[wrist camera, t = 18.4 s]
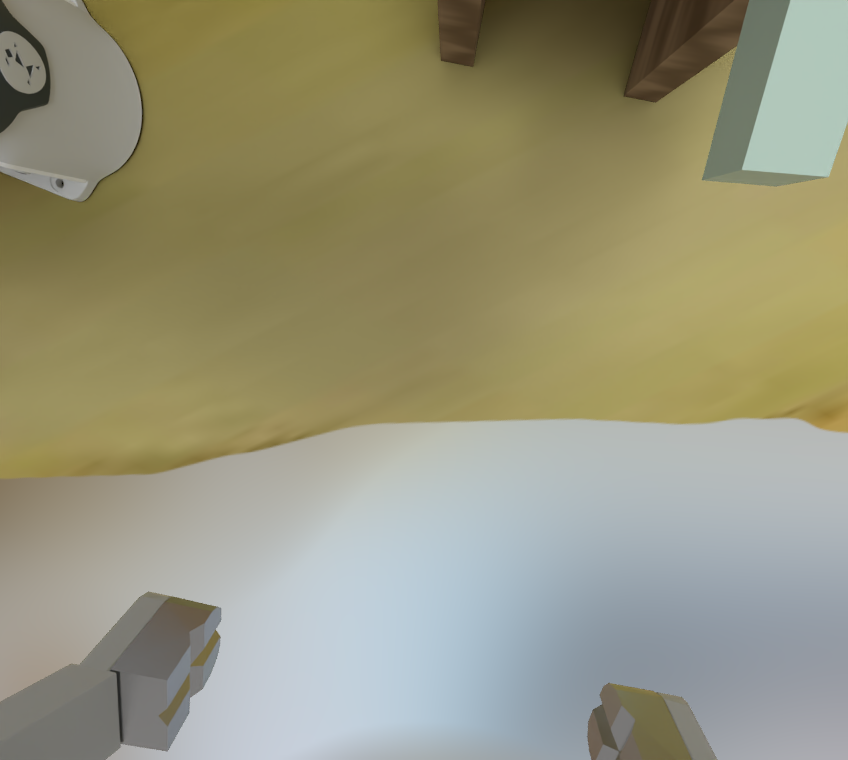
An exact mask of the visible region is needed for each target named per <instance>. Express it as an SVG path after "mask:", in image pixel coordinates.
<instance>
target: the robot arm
mask: <svg viewBox="0 0 848 760" xmlns="http://www.w3.org/2000/svg"><path fill="white" fill-rule="evenodd" d="M141 122H142V106H141V98H140V92H139V88H138V84H137V81H136V78H135V75H134V73H133V70H132V68H131V66H130V64H129V62H128V60H127V58H126V57H125V55H124V53H123V52H122V50H121V49H120V47H119V46H118V45H117V43H116V42H115V41H114V40H113V39H112V38H111V36H110V35H109V34H108V33H107V32H106V31H105V30H104V29H102V28H101V27H100V26H99V25H98V24H97V23H96V22H95V21H94V19H93V18H92V17H91V16H90V15H89V13H88V11H87V9H86V7H85V5H84V3H83V1H82V0H0V172H2V173H5V174H7V175H10V176H12V177H15V178H17V179H20V180H22V181H25V182H27V183H30V184H32V185H35V186H37V187H40V188H42V189H45V190H47V191H49V192H52V193H54V194H57V195H59V196H62V197H64V198H67V199H70V200H74V201H78V202H82V201H84V200H86V199H87V198H88V197H89V196H90V194H91V193H92V191H93V190H94V188H95V186H96V185H97V183H98V182H99V181H100V180H101V179H102V178H104V177H106V176H108V175H109V174H111V173H113V172H115V171H116V170H118V169H119V168H120V167H121V166H122V165H123V164H124V163H125V162H126V161H127V160H128V158H129V157H130V156H131V154H132V152H133V150H134V148H135V146H136V144H137V141H138V138H139V134H140V130H141ZM62 181H63V182H64V187H63V186H62ZM220 621H221V608H219V607H216V606H211V605H207V604H203V603H198V602H194V601H190V600H185V599H181V598H177V597H172V596H167V595H162V594H157V593H152V592H147V593H145V594H144V595H142V596H141V597H139V598H138V600H136V602H135V603H134V604H133V605H132V606H131V607H130V608H129V610H128V611H127V612H126V613H125V614H124V615H123V616H122V617H121V618H120V620H119V621H118V622H117V623H116V624H115V625H114V626H113V627H112V629H111V630H110V631H109V632H108V633H107V634H106V635H105V637H104V638H103V639H102V640H101V641H100V642H99V643H98V644H97V645H96V647H95V648H94V649H93V650H92V651H91V652H90V653H89V654H88V656H87V657H86V658H85V659H84V660H83V661H82V662H81V663H80V665H77V664H70V665H68V666H66V667H64V668H62V669H60V670H59V671H57V672H55V673H53V674H51V675H49V676H48V677H45V678H44V679H42V680H40V681H38V682H36V683H34V684H32V685H31V686H29V687H27V688H25V689H23V690H21V691H19V692H18V693H16V694H14V695H12V696H10V697H8V698H6V699H5V700H3V701H1V702H0V760H106V759H107V758H108V757H109V756H111V755H112V754H113V753H114V752H115V751H117V750H118V749H119V748H120V744H125V745H131V746H137V747H144V748H150V749H156V750H162V751H168V750H169V748H170V746H171V744H172V742H173V741H174V739H175V737H176V735H177V734H178V732H179V730H180V728H181V727H182V725H183V723H184V721H185V720H186V718H187V716H188V714H189V706H190V697H192V696H193V695H195V694H196V693H198V692H199V691H200V690H202V689H203V687H204V685H205V683H206V682H207V680H208V678H209V676H210V674H211V672H212V669H213V667H214V664H215V662H216V659H217V656H218V651H219V647H220V635H219V634H218V632H217V631H216V628H217V626H218V625H219V623H220ZM600 698H601V701H602V705H600V706H599V707H597V708H595V709H593V711H592V713H591V716H590V719H589V721H588V736H587V737H588V745H589V752H590V756H591V760H717V758H716V756H715V754H714V752H713V750H712V748H711V746H710V745H709V743H708V741H707V739H706V737H705V735H704V733H703V731H702V730H701V727H700V725H699V724H698V722H697V720H696V718H695V716H694V714H693V712H692V710H691V708H690V707H689V705H688V703H687V702H686V701H685V700H684V699H683V698H682V697H678V696H673V695H668V694H663V693H658V692H654V691H651V690H645V689H639V688H634V687H628V686H623V685H617V684H612V683H608V684H606V685H605V686H604V687H603V688H602V691H601V693H600Z"/></svg>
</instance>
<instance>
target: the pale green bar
mask: <svg viewBox="0 0 848 760" xmlns="http://www.w3.org/2000/svg"><path fill="white" fill-rule="evenodd" d="M847 122H848V0H749V3H748V7H747V11H746V14H745V18H744V22H743V26H742V30H741V33H740V37H739V41H738V45H737V49H736V52H735V56H734V60H733V64H732V68H731V72H730V75H729V79H728V83H727V87H726V91H725V94H724V98H723V102H722V106H721V110H720V113H719V117H718V121H717V125H716V129H715V133H714V136H713V140H712V144H711V148H710V152H709V155H708V159H707V163H706V167H705V171H704V174H703V178H702V180H706V181H718V182H730V183H742V184H754V185H766V186H782V185H787V184H793V183H798V182H804V181H809V180H815V179H820V178H826V177H829V174H830V171H831V168H832V165H833V163H834V160H835V157H836V154H837V151H838V148H839V145H840V142H841V139H842V137H843V134H844V131H845V128H846V125H847Z"/></svg>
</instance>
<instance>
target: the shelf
mask: <svg viewBox="0 0 848 760" xmlns="http://www.w3.org/2000/svg"><path fill="white" fill-rule="evenodd" d="M485 1H486V0H438V16H439V35H440V53H441V61H447V62H452V63H457V64H462V65H467V66H472V67H473V65H474V59H475V54H476V49H477V43H478V38H479V33H480V27H481V22H482V17H483V11H484V6H485ZM748 3H749V0H651V2H650V6H649V9H648V13H647V16H646V20H645V23H644V27H643V30H642V34H641V37H640V41H639V44H638V48H637V51H636V55H635V58H634V62H633V65H632V68H631V72H630V75H629V79H628V82H627V86H626V89H625V93H624V96H626V97H631V98H636V99H641V100H646V101H651V102H657V101H659V100H660V99H661V98H663V97H664V96H666V95H667V94H669V93H670V92H671V91H673V90H674V89H676V88H677V87H679V86H680V85H681V84H683V83H684V82H686V81H687V80H689V79H690V78H691V77H693V76H694V75H696V74H697V73H699V72H700V71H701V70H703V69H704V68H706V67H707V66H709V65H710V64H712V63H713V62H714V61H716V60H717V59H719V58H720V57H722V56H723V55H724V54H726V53H727V52H729V51H730V50H732V49H733V48H734V47H736V46H737V45H738V41H739V37H740V33H741V30H742V26H743V22H744V18H745V14H746V11H747V7H748Z"/></svg>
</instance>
